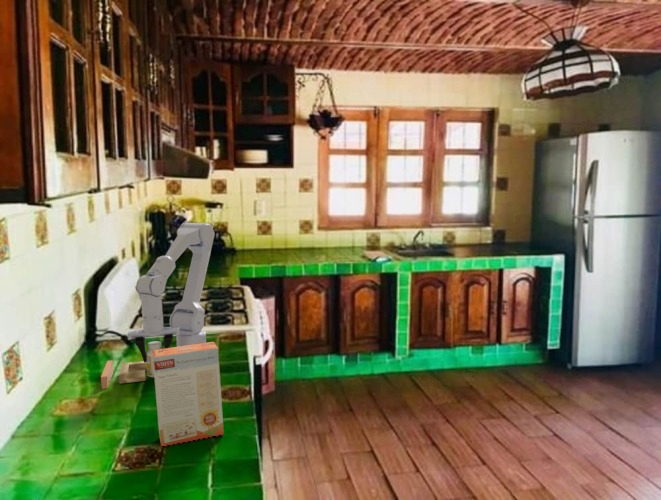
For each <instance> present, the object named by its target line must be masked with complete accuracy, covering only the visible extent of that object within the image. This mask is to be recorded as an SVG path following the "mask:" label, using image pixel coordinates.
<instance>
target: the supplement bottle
mask: <svg viewBox="0 0 661 500" xmlns="http://www.w3.org/2000/svg"><path fill="white" fill-rule="evenodd" d="M162 343H163V342H162V341H158V340H157V341H156V340H155V341H150V342H147V349H148V350H147V351H146V362H147V371H146V372H147V374H146V375H147V376H148V377H149V378H154V366H153V354H152V351H153V350H157V349H163V348H162V347H163V344H162Z"/></svg>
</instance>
